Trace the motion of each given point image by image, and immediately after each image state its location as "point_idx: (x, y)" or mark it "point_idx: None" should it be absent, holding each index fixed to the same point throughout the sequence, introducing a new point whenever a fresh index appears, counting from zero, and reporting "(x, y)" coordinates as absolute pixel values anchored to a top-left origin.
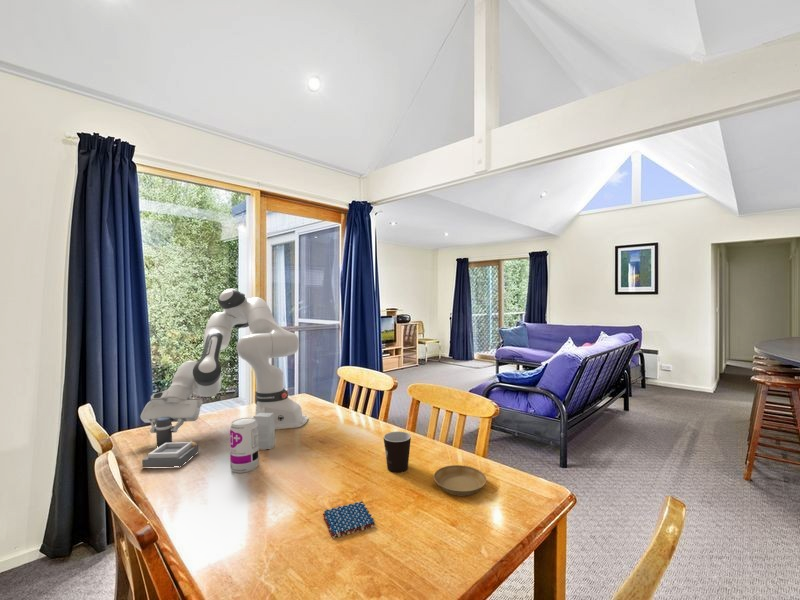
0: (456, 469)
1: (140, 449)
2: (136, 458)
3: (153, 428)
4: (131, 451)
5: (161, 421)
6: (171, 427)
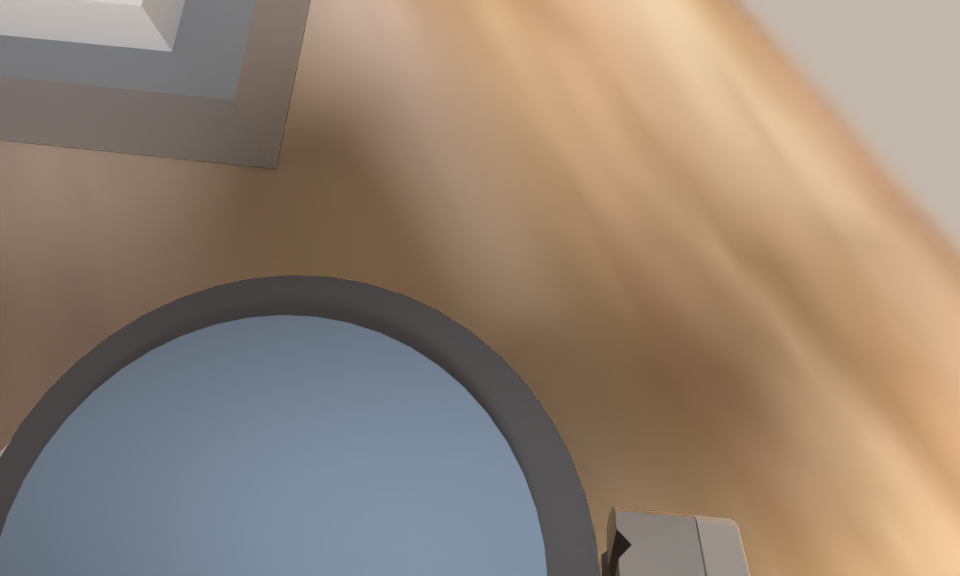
0: None
1: (787, 462)
2: (625, 91)
3: (666, 556)
4: (897, 395)
5: (265, 284)
6: None
